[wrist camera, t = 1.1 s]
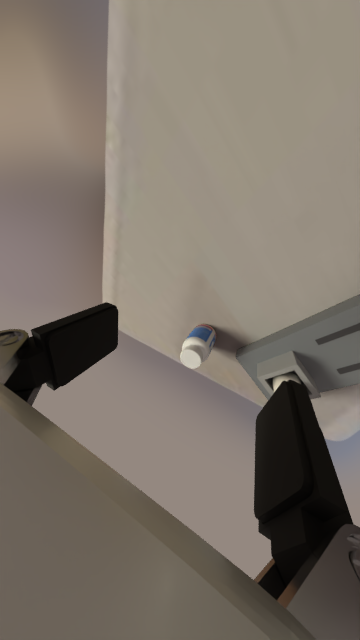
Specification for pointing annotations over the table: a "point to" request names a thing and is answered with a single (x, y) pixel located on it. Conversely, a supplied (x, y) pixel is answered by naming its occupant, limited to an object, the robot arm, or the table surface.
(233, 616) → the robot arm
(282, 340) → the panel
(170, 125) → the table surface
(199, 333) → the pill bottle
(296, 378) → the button ivory
